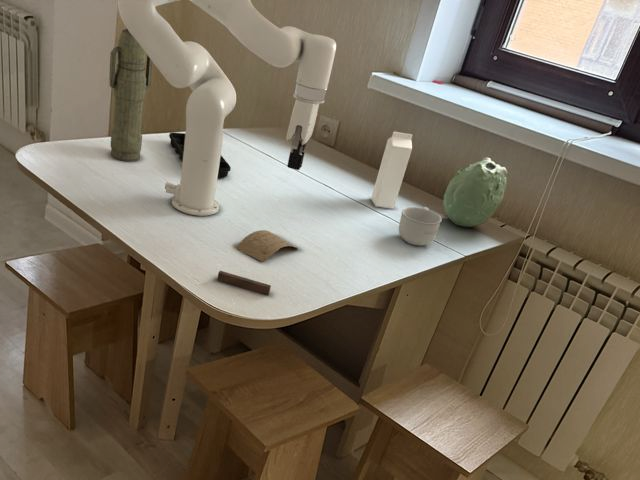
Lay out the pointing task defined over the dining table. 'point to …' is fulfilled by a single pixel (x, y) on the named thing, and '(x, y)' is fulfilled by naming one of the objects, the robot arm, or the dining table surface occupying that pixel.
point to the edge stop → (244, 282)
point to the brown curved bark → (261, 244)
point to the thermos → (128, 96)
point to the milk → (392, 170)
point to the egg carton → (178, 144)
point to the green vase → (475, 193)
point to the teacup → (419, 225)
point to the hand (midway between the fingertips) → (294, 167)
